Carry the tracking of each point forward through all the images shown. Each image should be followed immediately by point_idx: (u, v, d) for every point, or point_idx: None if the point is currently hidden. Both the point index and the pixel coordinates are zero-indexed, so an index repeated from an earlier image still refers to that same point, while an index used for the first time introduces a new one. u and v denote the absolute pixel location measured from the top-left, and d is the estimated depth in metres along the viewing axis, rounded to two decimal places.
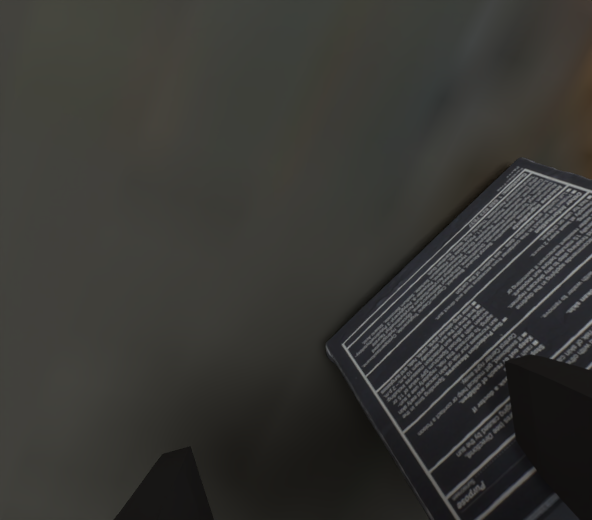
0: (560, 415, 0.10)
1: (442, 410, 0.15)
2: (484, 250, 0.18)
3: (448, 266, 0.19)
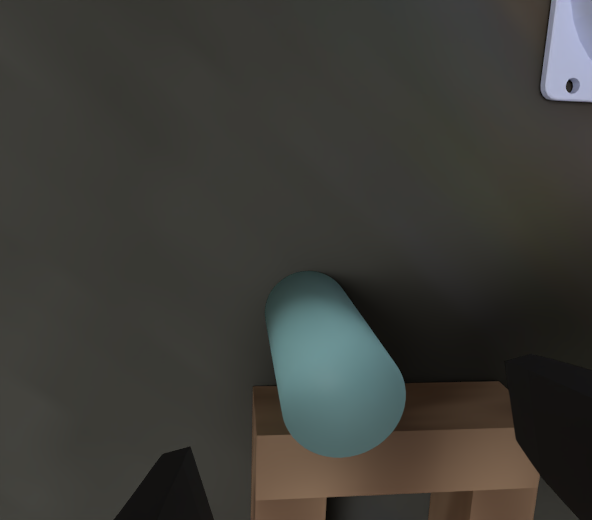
0: (560, 415, 0.10)
1: None
2: None
3: None
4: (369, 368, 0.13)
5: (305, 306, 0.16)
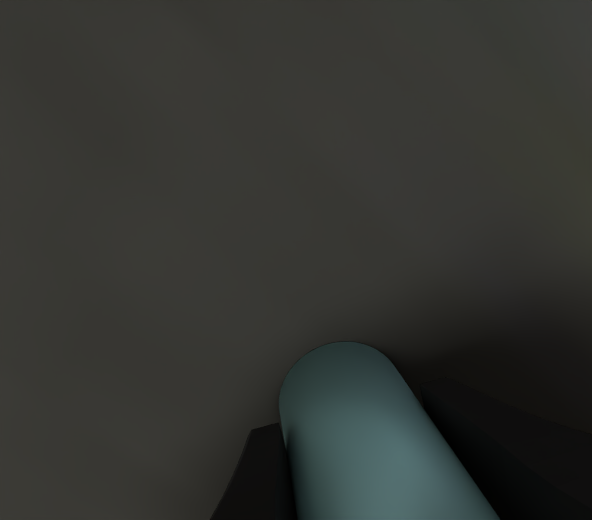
0: (460, 442, 0.10)
1: None
2: None
3: None
4: None
5: (353, 430, 0.10)
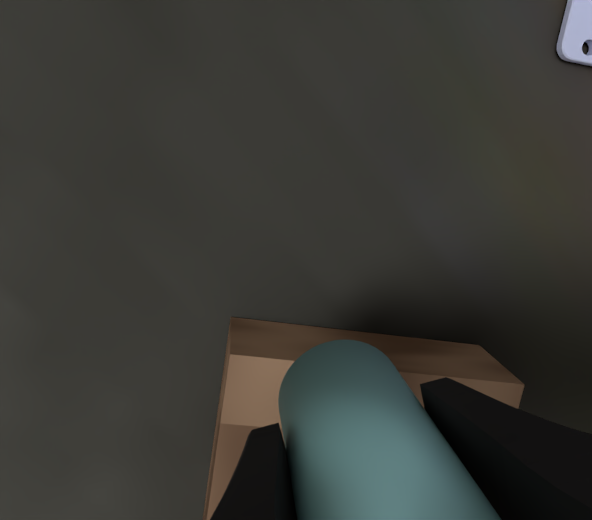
0: (461, 442, 0.10)
1: None
2: None
3: None
4: None
5: (352, 425, 0.10)
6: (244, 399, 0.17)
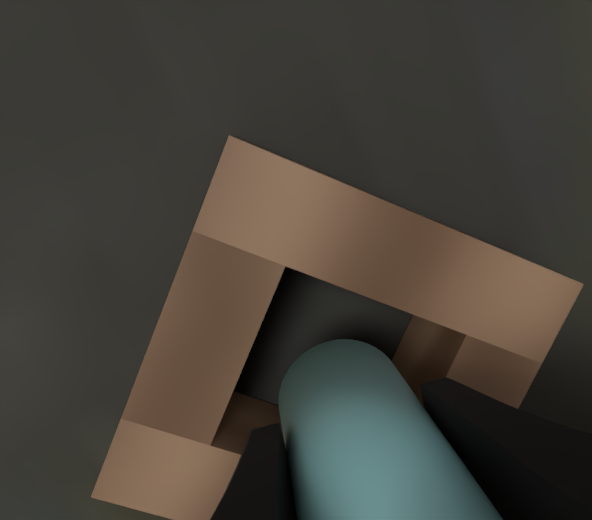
0: (461, 443, 0.10)
1: None
2: None
3: None
4: None
5: (351, 423, 0.10)
6: (232, 205, 0.13)
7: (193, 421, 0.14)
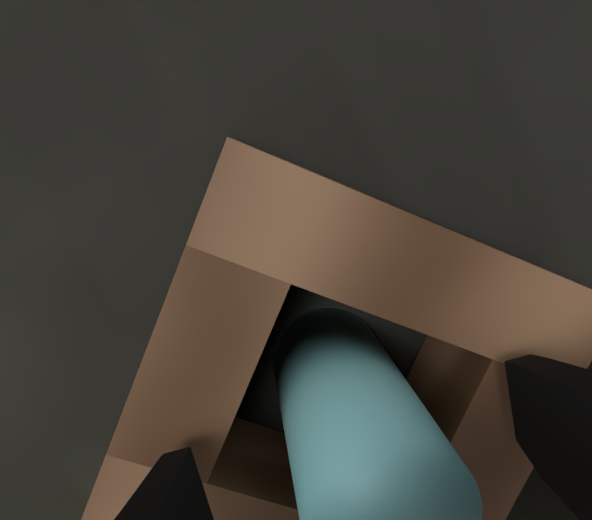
0: (560, 415, 0.10)
1: None
2: None
3: None
4: (432, 477, 0.09)
5: (331, 368, 0.12)
6: (231, 216, 0.11)
7: None
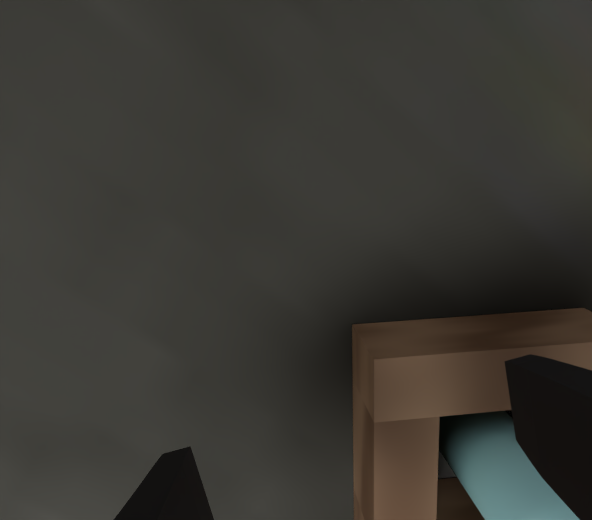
0: (559, 415, 0.10)
1: None
2: None
3: None
4: (570, 510, 0.17)
5: (482, 452, 0.19)
6: (392, 397, 0.19)
7: None
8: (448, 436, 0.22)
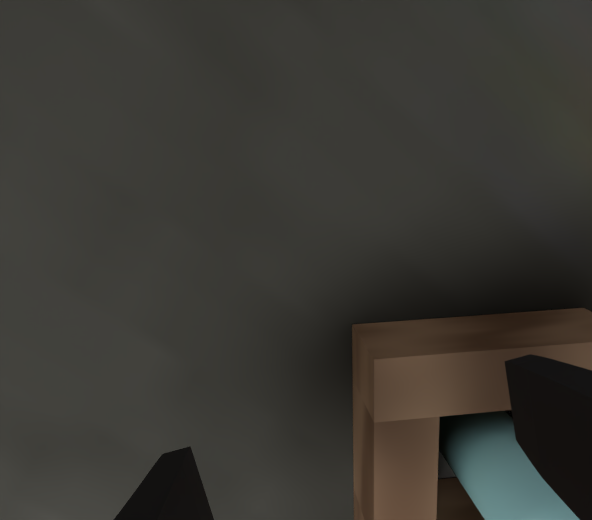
0: (559, 415, 0.10)
1: None
2: None
3: None
4: (569, 510, 0.17)
5: (481, 452, 0.19)
6: (392, 397, 0.19)
7: None
8: (448, 436, 0.22)
